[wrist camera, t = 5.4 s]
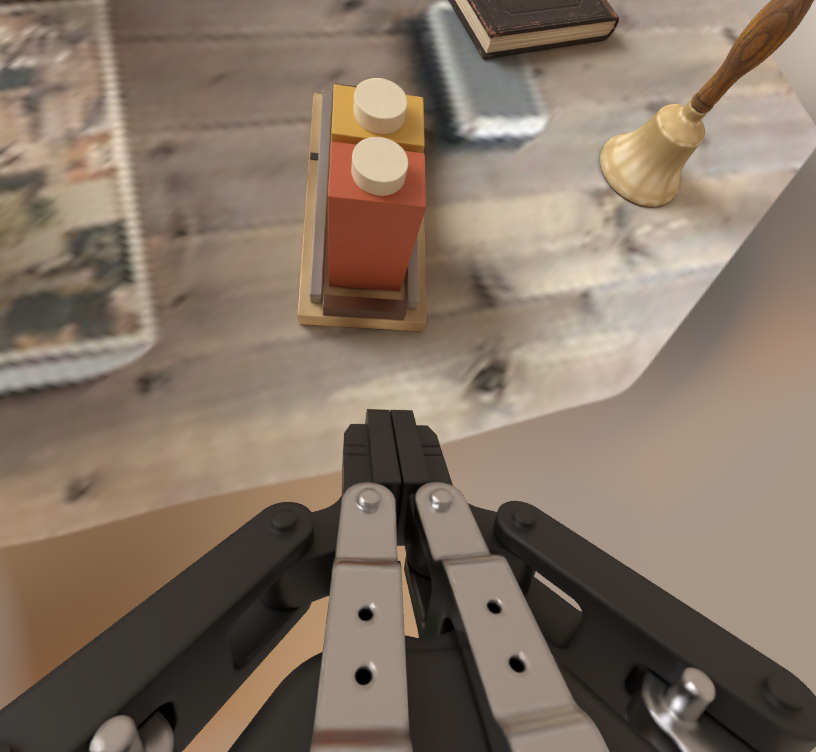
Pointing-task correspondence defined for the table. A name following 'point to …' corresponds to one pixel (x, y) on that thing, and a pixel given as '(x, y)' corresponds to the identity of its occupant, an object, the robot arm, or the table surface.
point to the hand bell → (691, 114)
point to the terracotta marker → (373, 212)
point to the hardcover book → (533, 23)
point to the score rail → (314, 291)
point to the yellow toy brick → (377, 114)
